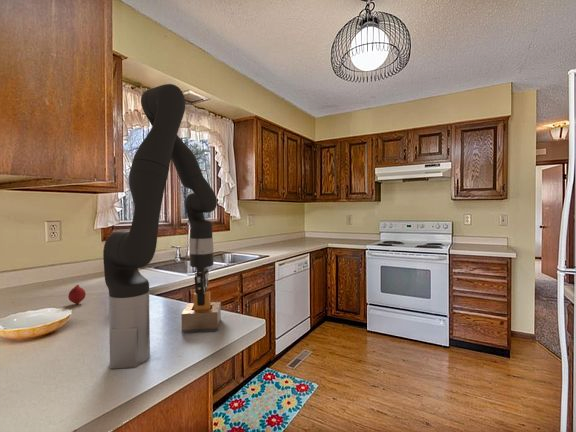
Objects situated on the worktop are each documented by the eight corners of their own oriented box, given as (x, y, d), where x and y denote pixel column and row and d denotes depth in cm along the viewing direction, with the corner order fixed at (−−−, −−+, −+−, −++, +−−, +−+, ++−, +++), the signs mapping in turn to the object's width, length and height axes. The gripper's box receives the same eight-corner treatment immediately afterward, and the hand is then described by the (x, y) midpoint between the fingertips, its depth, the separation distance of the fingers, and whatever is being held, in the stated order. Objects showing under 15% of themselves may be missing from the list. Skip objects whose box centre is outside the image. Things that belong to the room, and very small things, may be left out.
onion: (76, 306, 123) (76, 286, 123) (64, 305, 124) (64, 286, 124) (89, 302, 129) (88, 283, 129) (77, 301, 130) (77, 282, 130)
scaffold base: (217, 331, 97) (217, 312, 97) (181, 333, 96) (181, 313, 96) (220, 319, 108) (220, 302, 108) (188, 321, 107) (188, 303, 106)
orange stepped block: (209, 323, 100) (209, 293, 100) (193, 324, 100) (193, 294, 100) (210, 320, 103) (210, 291, 103) (195, 321, 103) (195, 291, 103)
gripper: (210, 254, 95) (211, 309, 95) (215, 248, 109) (215, 296, 109) (185, 255, 94) (186, 310, 94) (193, 249, 108) (194, 297, 108)
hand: (202, 302), depth 102 cm, fingers open, 4 cm apart
